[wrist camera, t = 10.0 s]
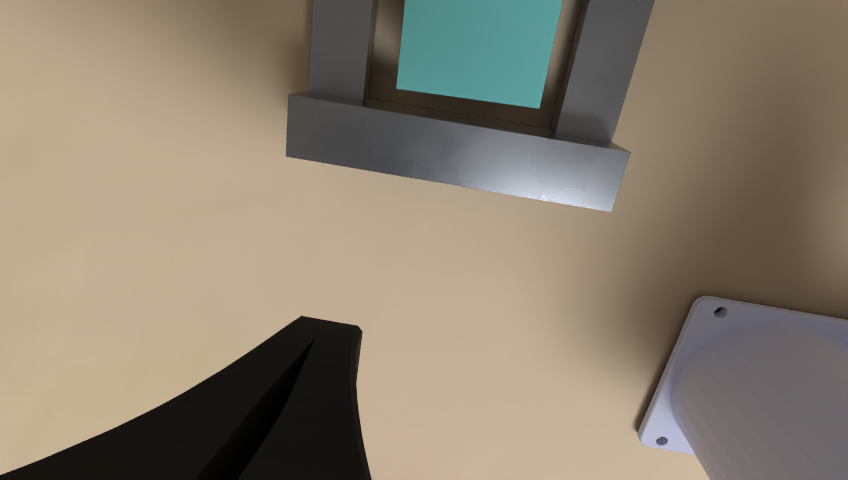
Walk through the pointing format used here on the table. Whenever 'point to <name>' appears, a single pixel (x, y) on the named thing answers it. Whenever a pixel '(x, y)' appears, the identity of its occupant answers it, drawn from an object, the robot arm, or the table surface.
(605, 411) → the table surface
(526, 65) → the plug
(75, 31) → the table surface
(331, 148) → the port
